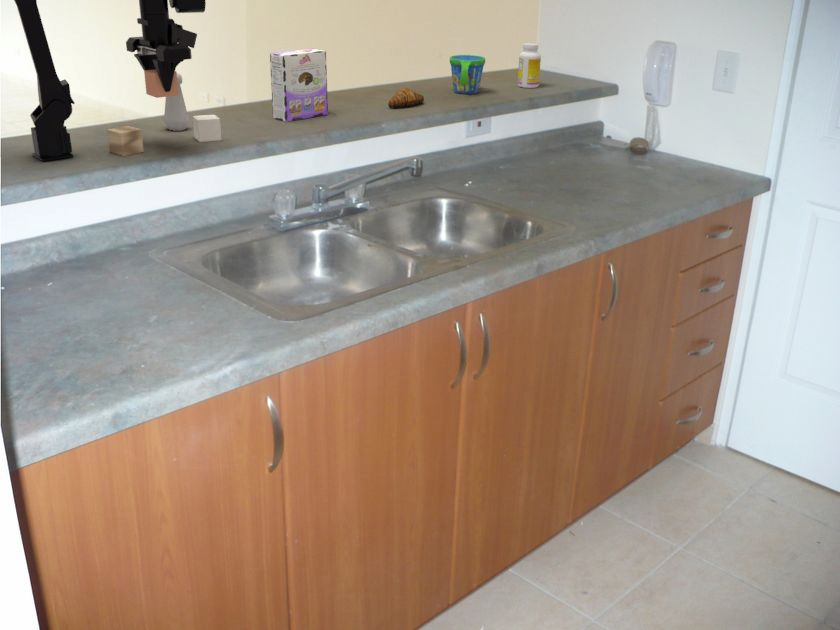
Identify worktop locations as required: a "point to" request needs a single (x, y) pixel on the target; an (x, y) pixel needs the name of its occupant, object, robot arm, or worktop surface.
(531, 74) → the supplement bottle
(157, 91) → the terracotta cube
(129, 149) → the oak cube
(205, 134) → the off-white cube
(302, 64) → the cake mix box
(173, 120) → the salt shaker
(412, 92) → the croissant
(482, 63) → the snack cup
